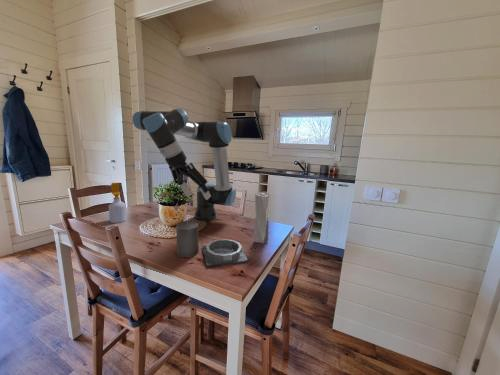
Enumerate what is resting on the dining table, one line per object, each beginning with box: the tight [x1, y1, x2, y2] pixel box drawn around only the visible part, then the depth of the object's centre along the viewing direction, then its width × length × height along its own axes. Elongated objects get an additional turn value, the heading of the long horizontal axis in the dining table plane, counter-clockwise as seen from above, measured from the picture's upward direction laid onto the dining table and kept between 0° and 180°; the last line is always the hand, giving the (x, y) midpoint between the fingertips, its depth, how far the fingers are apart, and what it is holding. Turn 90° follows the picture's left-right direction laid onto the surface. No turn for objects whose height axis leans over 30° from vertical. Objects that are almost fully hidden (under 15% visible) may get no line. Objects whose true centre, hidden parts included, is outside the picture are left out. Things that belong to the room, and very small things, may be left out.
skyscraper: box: [253, 191, 270, 245], centre depth 112 cm, size 8×8×28 cm
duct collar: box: [201, 238, 249, 269], centre depth 98 cm, size 18×18×4 cm
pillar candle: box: [175, 220, 199, 258], centre depth 98 cm, size 10×10×15 cm
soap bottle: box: [108, 182, 127, 224], centre depth 131 cm, size 9×9×25 cm
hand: (198, 196), depth 92 cm, fingers open, 13 cm apart
